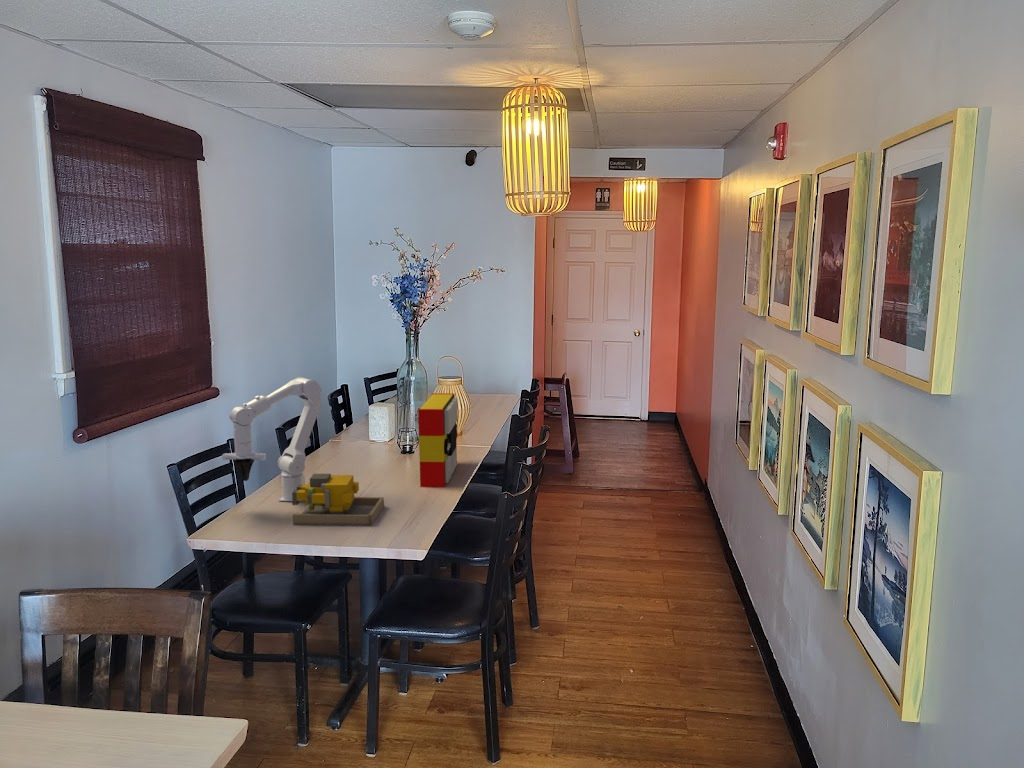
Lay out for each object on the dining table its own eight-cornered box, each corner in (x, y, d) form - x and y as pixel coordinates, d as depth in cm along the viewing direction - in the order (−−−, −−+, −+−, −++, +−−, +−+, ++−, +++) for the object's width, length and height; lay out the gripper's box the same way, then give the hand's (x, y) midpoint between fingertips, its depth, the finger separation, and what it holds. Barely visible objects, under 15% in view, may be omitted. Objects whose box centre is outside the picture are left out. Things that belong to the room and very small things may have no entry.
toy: (291, 520, 255) (351, 519, 255) (289, 482, 253) (350, 482, 253) (302, 506, 269) (359, 505, 269) (300, 470, 267) (358, 469, 267)
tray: (311, 505, 272) (310, 496, 271) (384, 506, 270) (383, 497, 270) (292, 524, 253) (292, 514, 252) (371, 525, 251) (370, 515, 251)
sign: (448, 487, 291) (447, 409, 286) (420, 487, 292) (418, 409, 287) (459, 463, 324) (458, 393, 318) (434, 463, 324) (432, 393, 319)
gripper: (217, 444, 261) (220, 483, 263) (259, 444, 260) (261, 483, 262) (226, 439, 268) (228, 477, 270) (267, 439, 267) (269, 477, 269)
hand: (245, 480), depth 267 cm, fingers closed
